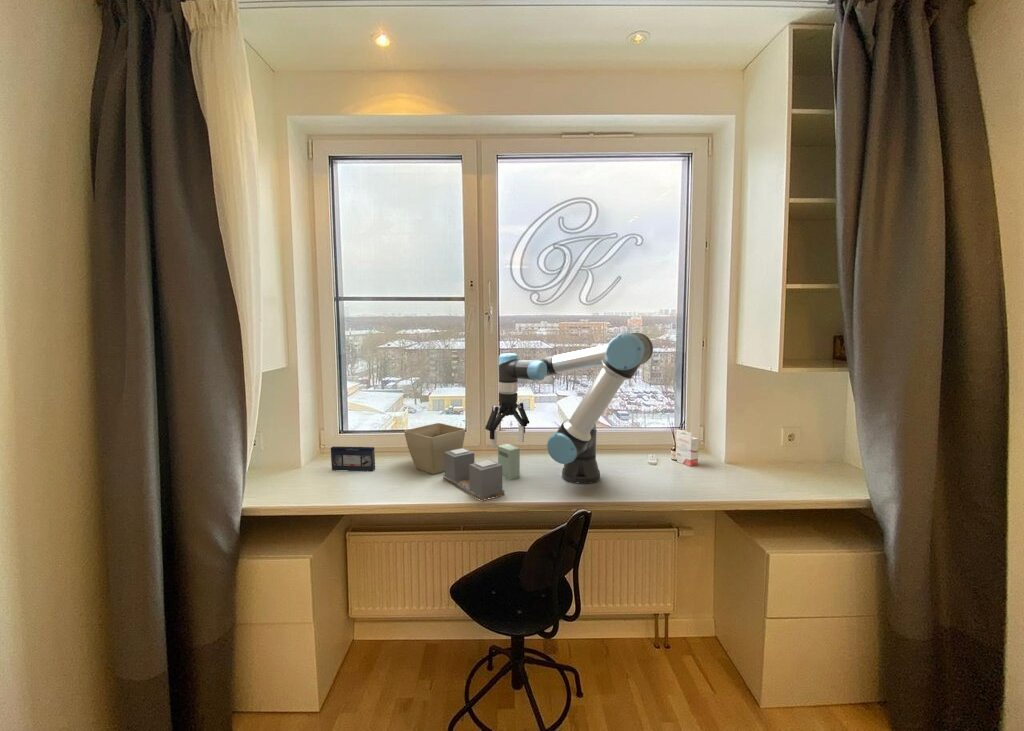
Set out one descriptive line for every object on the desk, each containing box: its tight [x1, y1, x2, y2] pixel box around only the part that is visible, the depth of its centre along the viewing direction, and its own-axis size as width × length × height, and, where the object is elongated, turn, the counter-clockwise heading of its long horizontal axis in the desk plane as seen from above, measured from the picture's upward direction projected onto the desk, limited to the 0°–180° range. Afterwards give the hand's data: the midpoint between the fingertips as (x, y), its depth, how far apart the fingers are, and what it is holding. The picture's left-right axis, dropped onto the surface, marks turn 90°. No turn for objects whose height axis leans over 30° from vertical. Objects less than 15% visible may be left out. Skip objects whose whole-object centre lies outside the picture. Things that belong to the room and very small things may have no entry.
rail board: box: [442, 474, 506, 501], centre depth 171 cm, size 10×28×2 cm, turn 37°
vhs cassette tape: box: [330, 446, 376, 472], centre depth 191 cm, size 18×3×10 cm, turn 83°
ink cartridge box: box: [675, 428, 699, 467], centre depth 197 cm, size 9×5×15 cm, turn 28°
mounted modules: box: [444, 447, 504, 497], centre depth 171 cm, size 9×27×11 cm, turn 37°
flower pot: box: [403, 422, 466, 475], centre depth 192 cm, size 19×19×17 cm
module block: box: [497, 443, 521, 481], centre depth 182 cm, size 5×8×12 cm, turn 37°
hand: (507, 444), depth 182 cm, fingers open, 13 cm apart
